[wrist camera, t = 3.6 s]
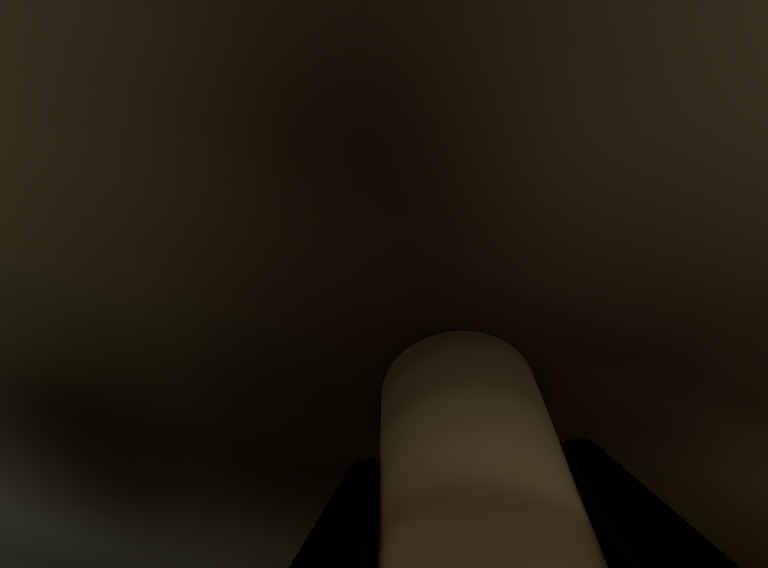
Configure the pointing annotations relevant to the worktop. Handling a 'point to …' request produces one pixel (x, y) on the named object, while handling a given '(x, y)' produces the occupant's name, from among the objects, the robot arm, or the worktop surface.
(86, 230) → the worktop surface
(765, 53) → the worktop surface
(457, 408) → the dowel
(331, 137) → the worktop surface
